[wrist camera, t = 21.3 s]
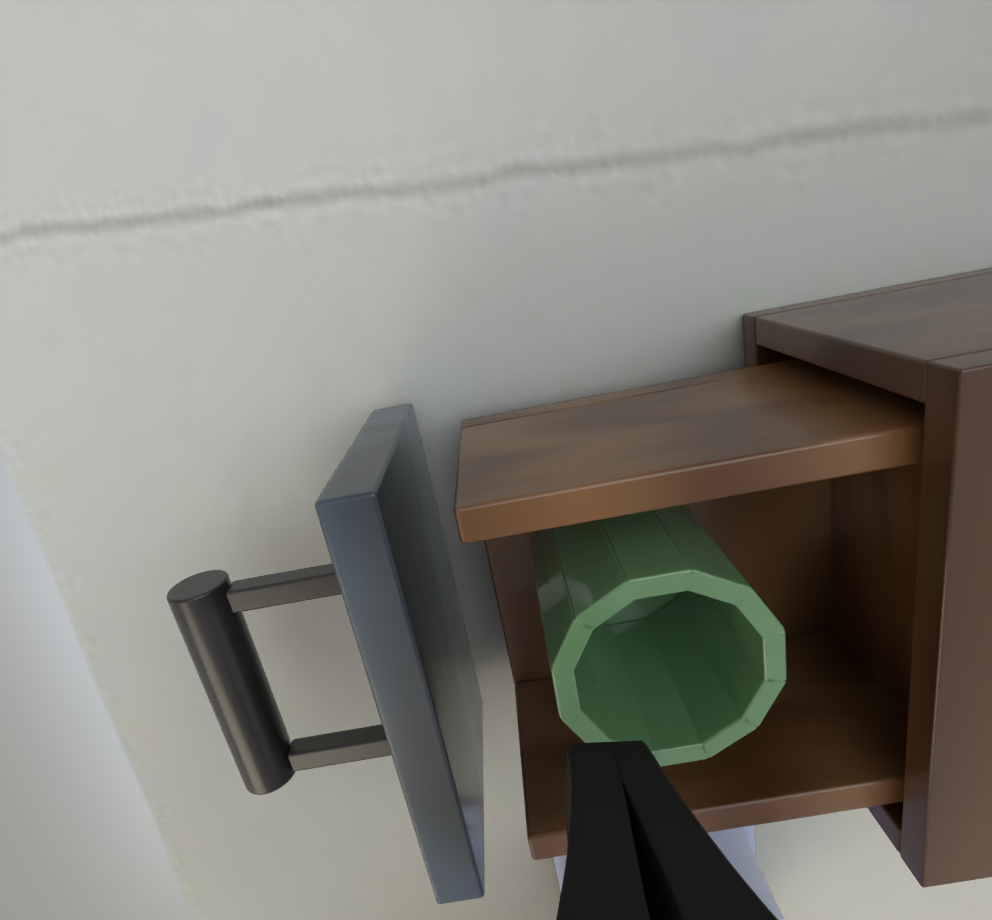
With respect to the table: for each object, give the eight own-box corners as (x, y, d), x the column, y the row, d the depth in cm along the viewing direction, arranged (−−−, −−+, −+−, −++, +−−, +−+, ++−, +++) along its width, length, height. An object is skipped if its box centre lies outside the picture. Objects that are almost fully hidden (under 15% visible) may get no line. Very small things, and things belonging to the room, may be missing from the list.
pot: (704, 610, 19) (789, 747, 14) (546, 637, 19) (571, 782, 14) (692, 461, 17) (784, 553, 12) (519, 492, 18) (537, 596, 12)
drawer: (312, 730, 21) (242, 937, 15) (208, 440, 18) (57, 549, 11) (836, 642, 21) (996, 818, 14) (838, 323, 17) (1052, 369, 11)
